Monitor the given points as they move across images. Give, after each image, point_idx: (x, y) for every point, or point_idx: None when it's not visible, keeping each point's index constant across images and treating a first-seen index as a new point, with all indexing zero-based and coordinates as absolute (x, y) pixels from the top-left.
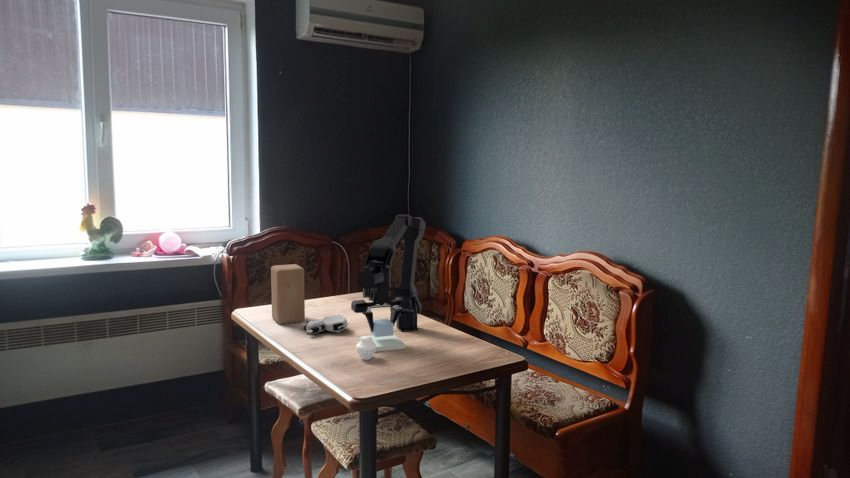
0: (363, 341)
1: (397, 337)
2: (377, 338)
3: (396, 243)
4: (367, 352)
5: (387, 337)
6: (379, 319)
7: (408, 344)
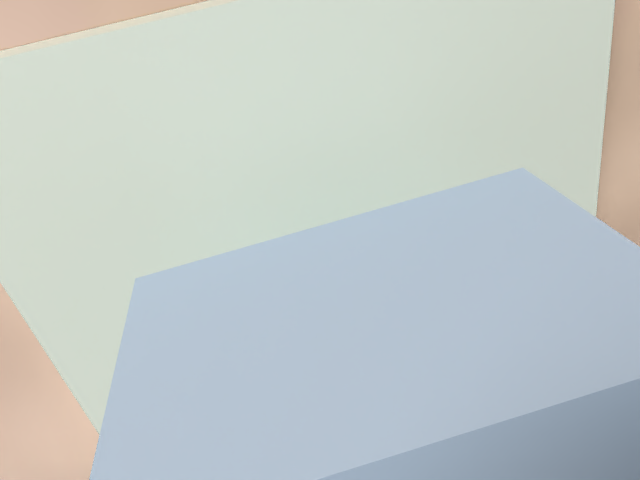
0: None
1: (596, 163)
2: (282, 206)
3: None
4: None
5: (451, 160)
6: (453, 450)
7: (637, 240)
